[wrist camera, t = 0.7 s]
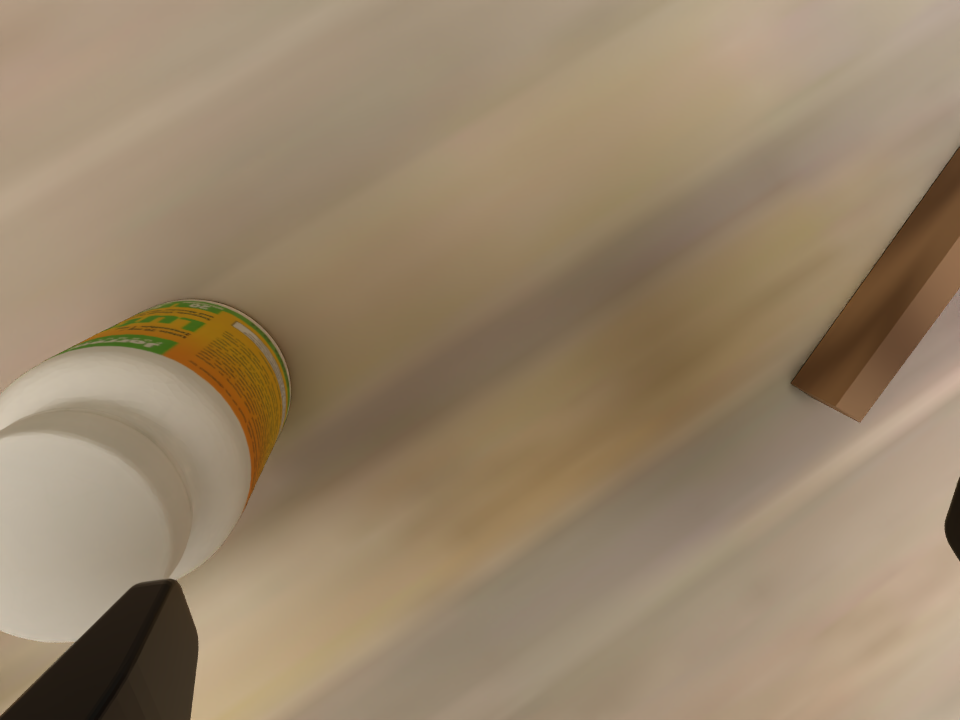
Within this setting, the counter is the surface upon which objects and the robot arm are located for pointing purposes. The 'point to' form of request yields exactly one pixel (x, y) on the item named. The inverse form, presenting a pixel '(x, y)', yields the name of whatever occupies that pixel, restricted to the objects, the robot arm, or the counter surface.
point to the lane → (891, 305)
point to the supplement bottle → (131, 460)
